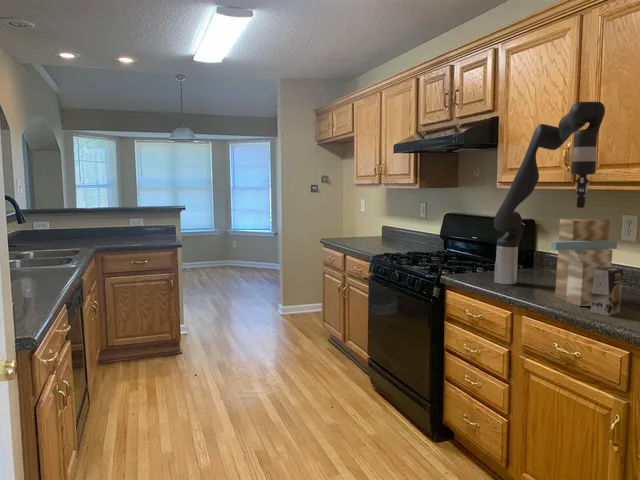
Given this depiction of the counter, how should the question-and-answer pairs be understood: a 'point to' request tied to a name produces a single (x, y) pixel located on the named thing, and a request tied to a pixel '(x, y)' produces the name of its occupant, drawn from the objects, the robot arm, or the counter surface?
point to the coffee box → (607, 291)
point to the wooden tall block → (576, 232)
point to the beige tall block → (584, 273)
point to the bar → (583, 245)
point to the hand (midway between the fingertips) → (580, 207)
